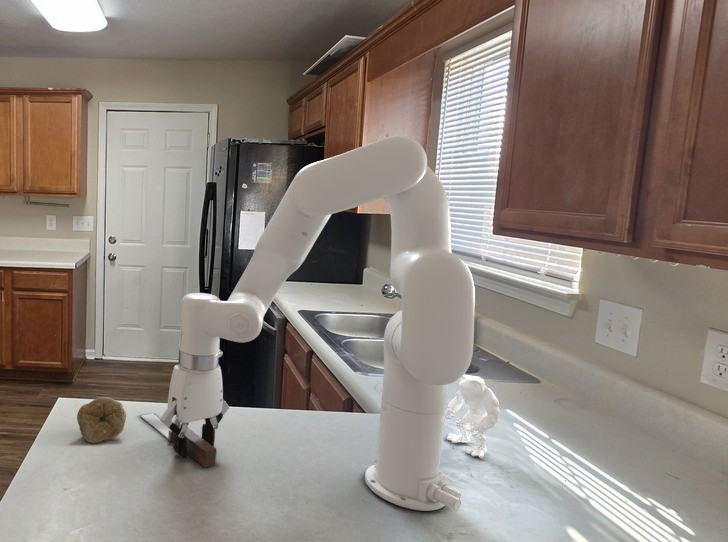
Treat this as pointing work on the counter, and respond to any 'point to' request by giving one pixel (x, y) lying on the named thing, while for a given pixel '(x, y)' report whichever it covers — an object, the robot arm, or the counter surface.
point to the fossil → (101, 419)
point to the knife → (195, 443)
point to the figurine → (474, 412)
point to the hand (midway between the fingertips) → (194, 449)
